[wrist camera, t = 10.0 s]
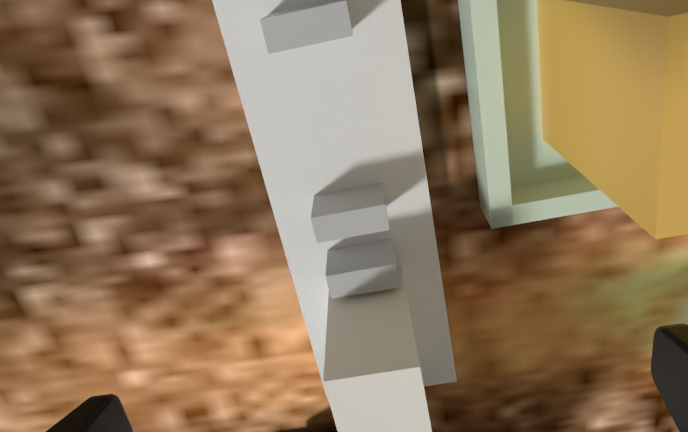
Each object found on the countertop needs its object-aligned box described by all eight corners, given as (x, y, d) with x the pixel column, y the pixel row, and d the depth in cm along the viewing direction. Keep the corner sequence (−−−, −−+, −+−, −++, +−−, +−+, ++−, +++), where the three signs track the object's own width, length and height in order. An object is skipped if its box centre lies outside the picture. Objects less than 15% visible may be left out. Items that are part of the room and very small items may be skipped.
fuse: (419, 361, 24) (440, 479, 18) (353, 371, 24) (354, 491, 18) (402, 265, 21) (420, 366, 16) (329, 277, 22) (323, 381, 16)
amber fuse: (625, 123, 19) (790, 217, 12) (542, 138, 20) (655, 239, 12) (629, -24, 17) (831, -16, 10) (536, -4, 18) (668, 16, 10)
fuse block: (453, 366, 25) (466, 415, 22) (328, 385, 25) (326, 435, 23) (340, -386, 14) (338, -469, 11) (127, -324, 15) (78, -390, 12)
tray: (685, 169, 21) (718, 189, 19) (479, 206, 21) (492, 228, 20) (706, -127, 17) (751, -139, 15) (450, -69, 17) (462, -73, 15)
